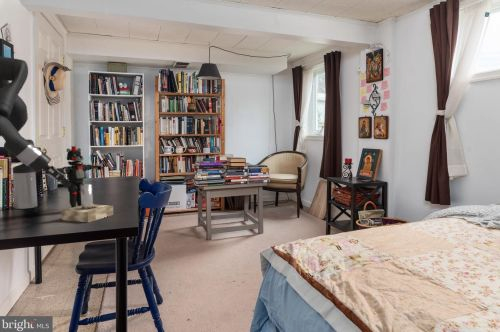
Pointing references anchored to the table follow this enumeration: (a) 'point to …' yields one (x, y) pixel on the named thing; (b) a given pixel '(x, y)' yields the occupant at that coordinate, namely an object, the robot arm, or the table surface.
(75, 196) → the toy
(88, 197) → the pin
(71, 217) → the socket
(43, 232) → the table surface
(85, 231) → the table surface
